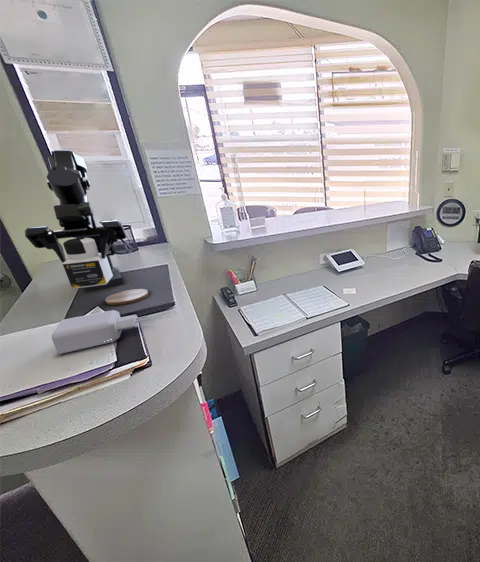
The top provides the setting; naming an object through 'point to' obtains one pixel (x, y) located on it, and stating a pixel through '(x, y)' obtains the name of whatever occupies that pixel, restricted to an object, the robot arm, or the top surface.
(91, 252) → the medicine bottle
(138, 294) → the coaster
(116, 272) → the button block
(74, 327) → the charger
